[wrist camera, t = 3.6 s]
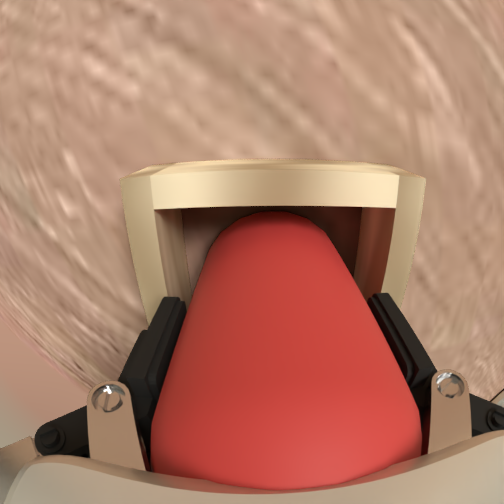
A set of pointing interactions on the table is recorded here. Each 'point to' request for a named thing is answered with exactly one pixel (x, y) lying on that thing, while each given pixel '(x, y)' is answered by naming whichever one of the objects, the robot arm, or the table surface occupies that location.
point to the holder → (271, 194)
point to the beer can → (281, 369)
